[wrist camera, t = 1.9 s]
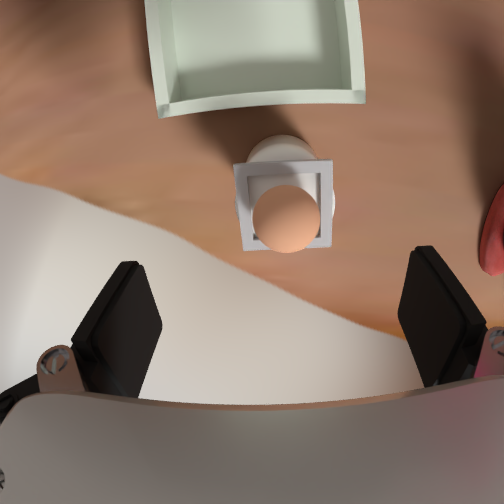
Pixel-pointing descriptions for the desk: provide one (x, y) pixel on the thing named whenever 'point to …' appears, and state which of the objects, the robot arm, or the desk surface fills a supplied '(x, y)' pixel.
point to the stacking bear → (493, 237)
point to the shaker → (283, 173)
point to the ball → (286, 218)
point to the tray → (253, 53)
